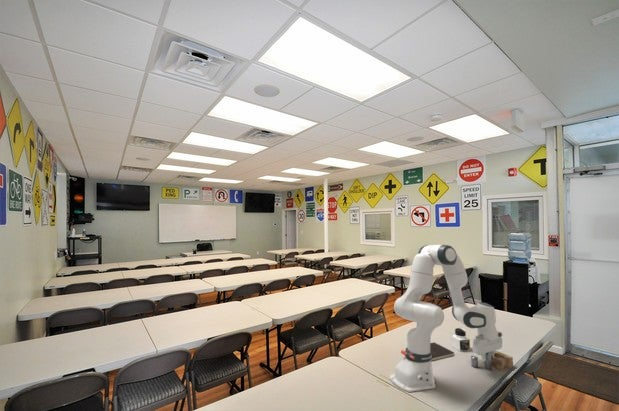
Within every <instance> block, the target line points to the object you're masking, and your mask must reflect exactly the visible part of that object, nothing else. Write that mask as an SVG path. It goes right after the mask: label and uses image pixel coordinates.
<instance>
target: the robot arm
mask: <svg viewBox="0 0 619 411" xmlns="http://www.w3.org/2000/svg"><path fill="white" fill-rule="evenodd" d="M411 264H412V265H411V270H410V277H409V281H408V286H407V289H406V290H405V292H404V293H403V294H402V295H401V296H400V297H398V298H397V299H396V300H395V301H394V303H393V304H394V305H393V310H394V312H395V315H397V316H399V317H400V318H402V319H404V320H407V321H410V322H414V323H416V327H413V328H411V329H409V331H408V332H407V334H406V343H407V347H406V348H407V349H406V348H405V350H404V349H401V350H400V353H401V354H402V355H403V356H404V357H403V358H402V359H401V360H400V361H399V362H398V363H397V364H396V365H395V367H394V373H392V374H390V375H389V380H390V381H391V382H392V383H393V384H394V385H395V386H396V387H398V388H400V389H401V390H403V391H405V392H407V393H411V392H417V391H425V390H426V391H427V390H430V389H431V390H432V389H436V384H435V382H436V381H435V377H434V372H433V365H432V361H431V359H432V355H431V350H430V343H431V339H432V338H431V337H432V333H433V332H434V330H435V329H437V328H439V327H440V326H442V325H443V323H444V320H445V313H444V310H443V309H442V308H441V307H440V306H438V305H437V304H434V303H432V302H427V301H424V300H423V301H422V300H421V298H422V297H423V296H424V295H426V294H430V292H431V291H432V289H433V281H434V280H433V279H434V267H435V266H441V268H442V272H443V275H444V278H445V281H446V283H447V287H448V290H449V292H448V293H449V295H450V300H451V303H452V307H451V314H452V316H453V318H454V319H455V320H456V321H458V322H460V323H461V324H462V325H464V326H465V327H467V328H469V329H477V335H476V336H475V337H474V339H473V340H472V353H474V354H475V355H478V356H480V357H481V360H482V361H487V358H486V357H485V355H486V354H485V353H488V352H491V358H492V359H494V354H495V350H496V351H498V350H501V349H502V348H503V337H502V336H503V332H502V331H499V330H497V327H496V324H497V316H496V315H497V314H496V310H495V307H494V306H493V305H491V304H489V303H486V302H481V301H480V302H477V303H476V304H475V305H474V306H472V307H469V306H468V305H467V304H466V303H465V299H464V296H463V292H462V288H463V287H466V285H467V284H468V281H469V280H468V274H467V271H466V269H465V268H466V267H465V266H464V263H463V261H462V259H461V257H460V256H459V255H458V253H457V252H456V249H455V248H454V247H452V246H451V245H449V244H436V243H435V244H427V245H423V246H421V247H420V248H419V249H418V252H417V254H415V255H414V258H413V260H412V263H411Z"/></svg>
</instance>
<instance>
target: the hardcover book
mask: <svg viewBox="0 0 619 411" xmlns="http://www.w3.org/2000/svg"><path fill="white" fill-rule="evenodd" d="M406 349H407V347H406V348H405V350H406ZM430 350H431V355H432V359H431V362H432V361H436V360H441V359H444V358H447V357H452V356H454V355H455V352H454V351H452V350H450V349H448V348H446V347H444V346H442V345H441V344H439V343H436V342H430Z"/></svg>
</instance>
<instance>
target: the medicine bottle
mask: <svg viewBox="0 0 619 411" xmlns="http://www.w3.org/2000/svg"><path fill="white" fill-rule="evenodd" d="M454 332H455V334H453V335H452V336H451V341H452V342H451V344H452V348H455V350H457V351H459V352H468V351H470V350H471V347H470V346H471V344H470V342H471V341H470V340H471V339H470V338H469V337H467V330H465V329H464V328H460V327H458V328H455V329H454Z"/></svg>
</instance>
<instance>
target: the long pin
mask: <svg viewBox="0 0 619 411" xmlns="http://www.w3.org/2000/svg"><path fill="white" fill-rule="evenodd" d="M485 354H486V355H485V357H486V358H487V361H485V363H484V370H486V371H488V372H489V371H490V372H491V371H493V366H492V358H491V352H488V353H485Z"/></svg>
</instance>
